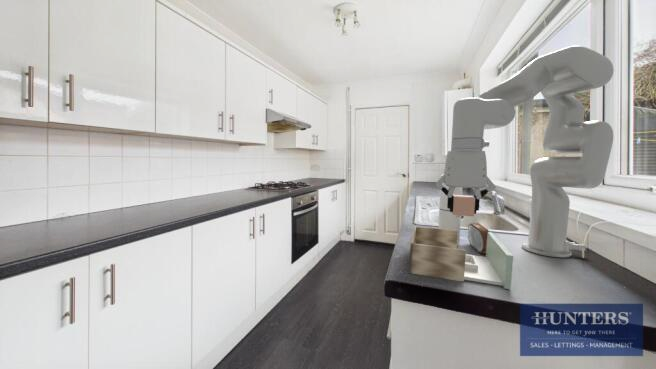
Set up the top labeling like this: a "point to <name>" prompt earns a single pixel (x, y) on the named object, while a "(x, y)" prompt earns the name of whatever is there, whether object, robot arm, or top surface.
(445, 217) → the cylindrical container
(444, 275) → the caddy
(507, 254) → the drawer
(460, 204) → the block
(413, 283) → the top surface
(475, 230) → the tin
